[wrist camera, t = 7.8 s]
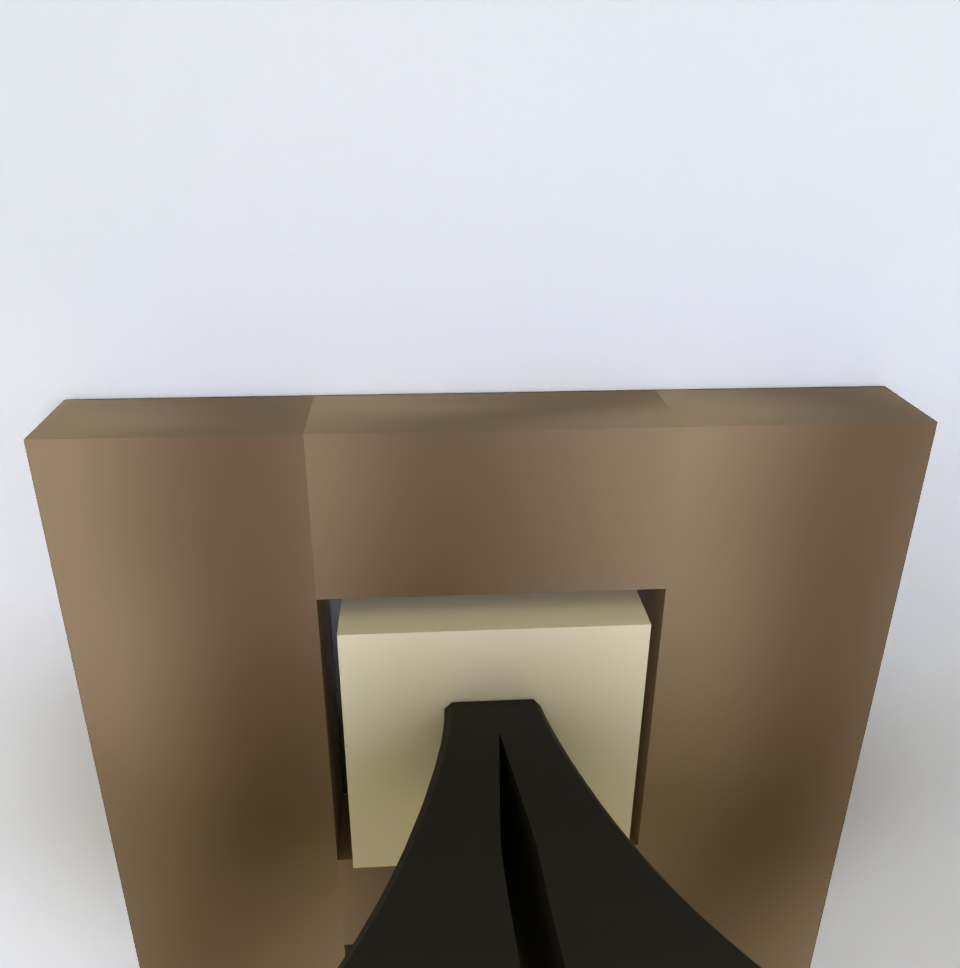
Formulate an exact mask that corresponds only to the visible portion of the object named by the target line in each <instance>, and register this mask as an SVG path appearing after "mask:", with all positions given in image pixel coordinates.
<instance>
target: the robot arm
mask: <svg viewBox="0 0 960 968" xmlns="http://www.w3.org/2000/svg"><path fill="white" fill-rule="evenodd" d="M338 968H761V967H760V966H759V965H757V964H756V963H755V962H754V961H753V960H751V959H750V958H749V957H748V956H747V955H746V954H744V953H743V952H742V951H741V950H740V949H739V948H738V947H736V946H735V945H734V944H733V943H732V942H731V941H729V940H728V939H727V938H726V937H725V936H724V935H722V934H721V933H720V932H719V931H718V930H717V929H716V928H714V927H713V926H712V925H711V924H710V923H709V922H707V921H706V920H705V919H704V918H703V917H702V916H701V915H700V914H699V913H698V912H697V911H696V910H695V909H694V908H693V907H692V906H691V905H690V904H689V903H688V902H687V901H685V900H684V899H683V898H682V897H681V896H680V895H679V894H678V893H677V892H676V891H675V890H674V889H673V888H672V887H671V885H670V884H669V883H668V882H667V881H666V880H665V879H664V878H663V877H662V876H661V875H660V874H659V873H658V872H657V871H656V870H655V869H654V867H653V866H652V865H651V864H650V863H649V862H648V861H647V860H646V859H645V857H644V856H643V855H642V854H641V853H640V852H639V850H638V849H637V848H636V847H635V846H634V845H633V843H632V842H631V841H630V840H629V839H628V837H627V836H626V835H625V834H624V832H623V831H622V830H621V829H620V827H619V826H618V825H617V824H616V822H615V821H614V820H613V819H612V817H611V816H610V815H609V813H608V812H607V811H606V809H605V808H604V807H603V806H602V804H601V803H600V801H599V800H598V799H597V797H596V796H595V794H594V793H593V792H592V790H591V789H590V787H589V786H588V784H587V783H586V782H585V780H584V779H583V777H582V776H581V775H580V773H579V772H578V770H577V769H576V767H575V766H574V764H573V762H572V761H571V759H570V758H569V756H568V755H567V753H566V751H565V750H564V748H563V746H562V745H561V743H560V742H559V740H558V738H557V736H556V735H555V733H554V731H553V729H552V728H551V726H550V724H549V722H548V720H547V718H546V716H545V714H544V712H543V710H542V708H541V706H540V705H539V704H538V703H537V702H536V701H535V700H534V699H524V700H499V701H475V702H452V703H451V704H449V705H448V706H447V707H446V708H445V709H444V727H443V734H442V740H441V744H440V749H439V753H438V757H437V761H436V764H435V768H434V771H433V774H432V777H431V780H430V783H429V786H428V789H427V793H426V796H425V799H424V802H423V804H422V807H421V810H420V812H419V815H418V817H417V820H416V822H415V824H414V827H413V829H412V832H411V834H410V836H409V839H408V841H407V844H406V846H405V848H404V851H403V853H402V855H401V857H400V859H399V861H398V863H397V866H396V868H395V870H394V872H393V874H392V876H391V878H390V880H389V882H388V884H387V886H386V887H385V889H384V891H383V893H382V895H381V897H380V899H379V901H378V903H377V904H376V906H375V908H374V910H373V911H372V913H371V915H370V916H369V918H368V920H367V921H366V923H365V925H364V927H363V928H362V930H361V932H360V933H359V935H358V937H357V938H356V940H355V942H354V943H353V945H352V946H351V948H350V950H349V951H348V953H347V954H346V956H345V957H344V959H343V960H342V962H341V964H340V965H339V966H338Z"/></svg>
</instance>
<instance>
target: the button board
mask: <svg viewBox="0 0 960 968" xmlns="http://www.w3.org/2000/svg"><path fill="white" fill-rule="evenodd" d="M936 426H937V422H936V421H935V420H934V419H932V418H931V417H929V416H928V415H926V414H925V413H923V412H922V411H920V410H919V409H917V408H916V407H914V406H913V405H911V404H910V403H909V402H907V401H906V400H904V399H903V398H901V397H900V396H898V395H897V394H895V393H894V392H892V391H891V390H889V389H888V388H886V387H885V386H881V387H821V388H760V389H700V390H640V391H579V392H519V393H458V394H398V395H337V396H277V397H216V398H156V399H96V400H64V401H63V402H62V403H61V404H60V405H59V406H58V407H57V408H56V409H55V410H54V411H53V412H52V413H51V414H50V415H49V416H48V417H47V418H46V419H45V420H44V421H42V422H41V423H40V424H39V425H38V426H37V427H36V428H35V429H34V430H33V431H32V432H31V433H30V434H29V435H28V436H27V437H26V438H25V439H24V443H25V448H26V452H27V457H28V461H29V466H30V471H31V475H32V480H33V484H34V489H35V493H36V498H37V502H38V507H39V511H40V516H41V521H42V525H43V530H44V534H45V539H46V543H47V548H48V552H49V557H50V561H51V566H52V571H53V575H54V580H55V584H56V589H57V593H58V598H59V602H60V607H61V611H62V616H63V621H64V625H65V630H66V634H67V639H68V643H69V648H70V652H71V657H72V661H73V666H74V671H75V675H76V680H77V684H78V689H79V693H80V698H81V702H82V707H83V711H84V716H85V721H86V725H87V730H88V734H89V739H90V743H91V748H92V752H93V757H94V761H95V766H96V771H97V775H98V780H99V784H100V789H101V793H102V798H103V802H104V807H105V811H106V816H107V820H108V825H109V830H110V834H111V839H112V843H113V848H114V852H115V857H116V861H117V866H118V870H119V875H120V880H121V884H122V889H123V893H124V898H125V902H126V907H127V911H128V916H129V920H130V925H131V930H132V934H133V939H134V943H135V948H136V952H137V957H138V961H139V966H140V968H338V966H339V965H340V964H341V962H342V960H343V959H344V957H345V956H346V954H347V953H348V951H349V950H350V948H351V946H352V945H353V943H354V942H355V940H356V938H357V937H358V935H359V933H360V932H361V930H362V928H363V927H364V925H365V923H366V921H367V920H368V918H369V916H370V915H371V913H372V911H373V910H374V908H375V906H376V904H377V903H378V901H379V899H380V897H381V895H382V893H383V891H384V889H385V887H386V886H387V884H388V882H389V880H390V878H391V876H392V874H393V872H394V870H395V868H396V866H385V867H365V868H353V856H352V842H351V828H350V814H349V800H348V793H344V794H343V781H342V768H341V754H340V740H339V727H338V713H337V700H336V686H335V672H334V659H333V645H332V631H331V618H330V604H329V599H354V598H386V597H418V596H449V595H481V594H513V593H545V592H577V591H608V590H637V592H638V595H639V597H640V599H641V602H642V604H643V606H644V609H645V611H646V613H647V616H648V618H649V620H650V623H651V632H650V642H649V652H648V662H647V671H646V681H645V691H644V701H643V710H642V720H641V730H640V740H639V749H638V759H637V769H636V779H635V788H634V798H633V808H632V818H631V827H630V837H629V840H630V841H631V842H632V843H633V845H634V846H635V847H636V848H637V849H638V850H639V852H640V853H641V854H642V855H643V856H644V857H645V859H646V860H647V861H648V862H649V863H650V864H651V865H652V866H653V867H654V869H655V870H656V871H657V872H658V873H659V874H660V875H661V876H662V877H663V878H664V879H665V880H666V881H667V882H668V883H669V884H670V885H671V887H672V888H673V889H674V890H675V891H676V892H677V893H678V894H679V895H680V896H681V897H682V898H683V899H684V900H685V901H687V902H688V903H689V904H690V905H691V906H692V907H693V908H694V909H695V910H696V911H697V912H698V913H699V914H700V915H701V916H702V917H703V918H704V919H705V920H706V921H707V922H709V923H710V924H711V925H712V926H713V927H714V928H716V929H717V930H718V931H719V932H720V933H721V934H722V935H724V936H725V937H726V938H727V939H728V940H729V941H731V942H732V943H733V944H734V945H735V946H736V947H738V948H739V949H740V950H741V951H742V952H743V953H744V954H746V955H747V956H748V957H749V958H750V959H751V960H753V961H754V962H755V963H756V964H757V965H759V966H760V967H761V968H810V965H811V960H812V956H813V952H814V948H815V943H816V939H817V935H818V930H819V926H820V922H821V918H822V913H823V909H824V905H825V901H826V896H827V892H828V888H829V883H830V879H831V875H832V871H833V866H834V862H835V858H836V854H837V849H838V845H839V841H840V836H841V832H842V828H843V824H844V819H845V815H846V811H847V807H848V802H849V798H850V794H851V789H852V785H853V781H854V777H855V772H856V768H857V764H858V759H859V755H860V751H861V747H862V742H863V738H864V734H865V730H866V725H867V721H868V717H869V712H870V708H871V704H872V700H873V695H874V691H875V687H876V683H877V678H878V674H879V670H880V665H881V661H882V657H883V653H884V648H885V644H886V640H887V636H888V631H889V627H890V623H891V618H892V614H893V610H894V606H895V601H896V597H897V593H898V588H899V584H900V580H901V576H902V571H903V567H904V563H905V559H906V554H907V550H908V546H909V541H910V537H911V533H912V529H913V524H914V520H915V516H916V512H917V507H918V503H919V499H920V494H921V490H922V486H923V482H924V477H925V473H926V469H927V465H928V460H929V456H930V452H931V447H932V443H933V439H934V435H935V430H936Z"/></svg>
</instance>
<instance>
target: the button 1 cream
mask: <svg viewBox="0 0 960 968" xmlns="http://www.w3.org/2000/svg"><path fill="white" fill-rule="evenodd" d="M650 632H651V623H650V620H649V618H648V616H647V613H646V611H645V609H644V606H643V604H642V602H641V599H640V597H639V595H638V592H637V590H608V591H577V592H545V593H513V594H481V595H449V596H418V597H386V598H354V599H341V607H340V615H339V622H338V630H337V644H338V658H339V672H340V686H341V700H342V715H343V729H344V743H345V757H346V771H347V785H348V800H349V814H350V828H351V842H352V856H353V868H365V867H385V866H397V863H398V861H399V859H400V857H401V855H402V853H403V851H404V848H405V846H406V844H407V841H408V839H409V836H410V834H411V832H412V829H413V827H414V824H415V822H416V820H417V817H418V815H419V812H420V810H421V807H422V804H423V802H424V799H425V796H426V793H427V789H428V786H429V783H430V780H431V777H432V774H433V771H434V768H435V764H436V761H437V757H438V753H439V749H440V744H441V740H442V734H443V727H444V709H445V708H446V707H447V706H448V705H449V704H451V703H452V702H475V701H499V700H524V699H534V700H535V701H536V702H537V703H538V704H539V705H540V706H541V708H542V710H543V712H544V714H545V716H546V718H547V720H548V722H549V724H550V726H551V728H552V729H553V731H554V733H555V735H556V736H557V738H558V740H559V742H560V743H561V745H562V746H563V748H564V750H565V751H566V753H567V755H568V756H569V758H570V759H571V761H572V762H573V764H574V766H575V767H576V769H577V770H578V772H579V773H580V775H581V776H582V777H583V779H584V780H585V782H586V783H587V784H588V786H589V787H590V789H591V790H592V792H593V793H594V794H595V796H596V797H597V799H598V800H599V801H600V803H601V804H602V806H603V807H604V808H605V809H606V811H607V812H608V813H609V815H610V816H611V817H612V819H613V820H614V821H615V822H616V824H617V825H618V826H619V827H620V829H621V830H622V831H623V832H624V834H625V835H626V836H627V837H628V839H629V837H630V827H631V818H632V808H633V798H634V788H635V779H636V769H637V759H638V749H639V740H640V730H641V720H642V710H643V701H644V691H645V681H646V671H647V662H648V652H649V642H650Z"/></svg>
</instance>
